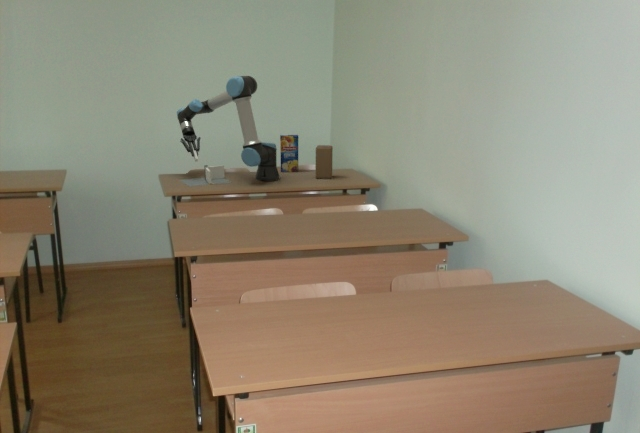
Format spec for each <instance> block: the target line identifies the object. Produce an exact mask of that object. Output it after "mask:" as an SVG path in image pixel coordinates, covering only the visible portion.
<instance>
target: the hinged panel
mask: <svg viewBox="0 0 640 433" xmlns="http://www.w3.org/2000/svg"><path fill="white" fill-rule="evenodd" d="M205 171H206V180H207V182H208V183H209V184H210V185H212V184H211V171H210V170H209V169H208V168H205ZM205 171H204V172H205Z"/></svg>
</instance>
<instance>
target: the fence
mask: <svg viewBox="0 0 640 433" xmlns="http://www.w3.org/2000/svg"><path fill="white" fill-rule="evenodd" d="M203 167H204V170H203V171H204V178H205V180H206V171H205V168H208V169H209V170H210V171H211V179H222V178H225V165H212V166H208V165H207V164H204V165H203Z"/></svg>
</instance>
